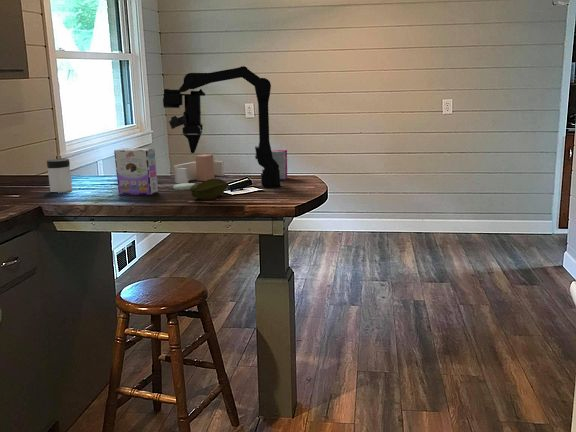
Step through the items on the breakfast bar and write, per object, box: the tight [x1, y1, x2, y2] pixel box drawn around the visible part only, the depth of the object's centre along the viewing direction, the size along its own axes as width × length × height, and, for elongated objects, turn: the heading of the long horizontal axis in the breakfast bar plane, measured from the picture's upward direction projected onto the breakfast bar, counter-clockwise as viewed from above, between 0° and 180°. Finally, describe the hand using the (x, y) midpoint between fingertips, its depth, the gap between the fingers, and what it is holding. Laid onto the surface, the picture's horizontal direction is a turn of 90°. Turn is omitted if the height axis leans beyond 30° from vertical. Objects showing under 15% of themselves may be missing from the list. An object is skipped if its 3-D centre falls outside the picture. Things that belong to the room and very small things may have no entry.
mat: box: [172, 182, 196, 191], centre depth 238 cm, size 9×9×1 cm
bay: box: [173, 157, 225, 184], centre depth 256 cm, size 6×22×7 cm, turn 143°
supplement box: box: [271, 149, 288, 181], centre depth 249 cm, size 6×6×12 cm
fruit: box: [189, 178, 229, 201], centre depth 216 cm, size 11×12×7 cm
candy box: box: [113, 147, 159, 196], centre depth 229 cm, size 14×6×16 cm, turn 71°
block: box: [195, 154, 216, 182], centre depth 254 cm, size 5×5×10 cm
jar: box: [46, 158, 73, 194], centre depth 241 cm, size 9×8×12 cm
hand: (193, 151), depth 230 cm, fingers open, 9 cm apart
